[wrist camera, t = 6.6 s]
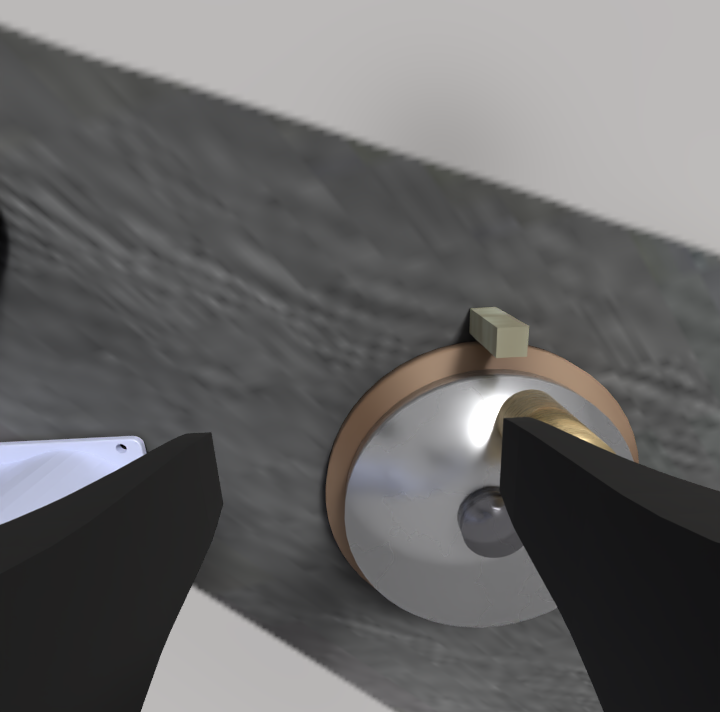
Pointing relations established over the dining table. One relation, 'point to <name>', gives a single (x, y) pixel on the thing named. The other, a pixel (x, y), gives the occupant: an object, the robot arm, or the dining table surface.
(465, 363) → the wheel base
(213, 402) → the dining table surface
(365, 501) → the handwheel
